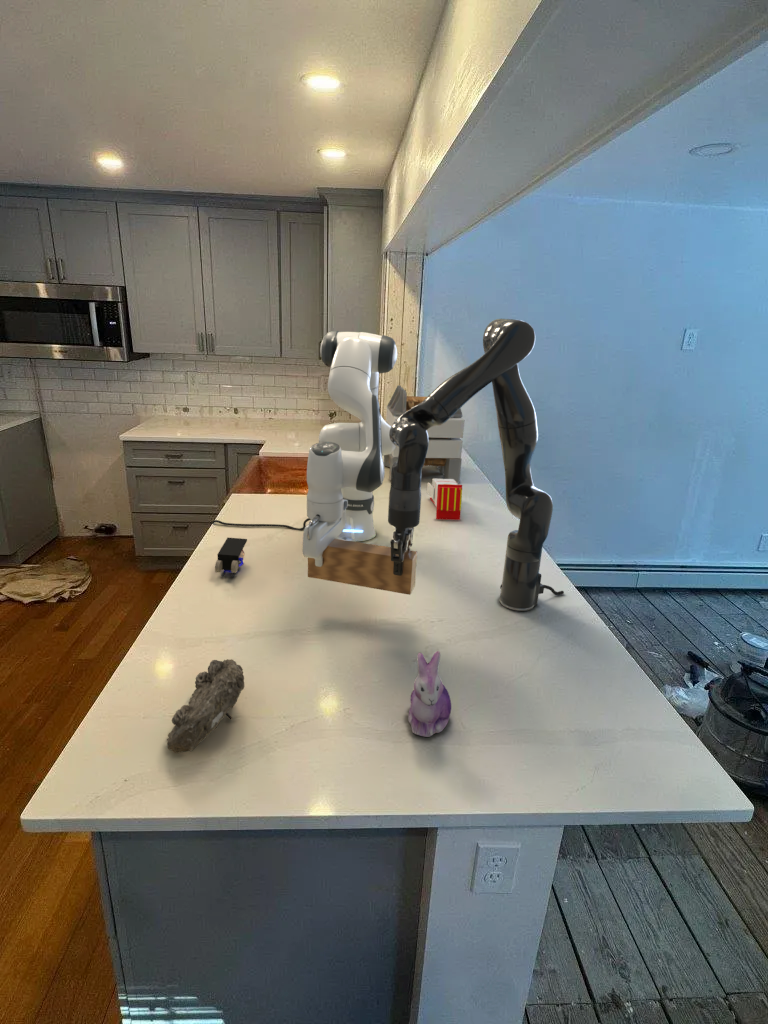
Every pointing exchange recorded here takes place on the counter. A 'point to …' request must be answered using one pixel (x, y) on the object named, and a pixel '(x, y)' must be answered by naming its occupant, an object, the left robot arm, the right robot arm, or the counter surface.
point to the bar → (364, 566)
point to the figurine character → (230, 556)
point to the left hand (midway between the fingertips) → (324, 560)
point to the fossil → (206, 705)
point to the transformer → (430, 437)
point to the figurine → (429, 699)
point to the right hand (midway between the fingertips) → (400, 569)
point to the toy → (446, 498)
